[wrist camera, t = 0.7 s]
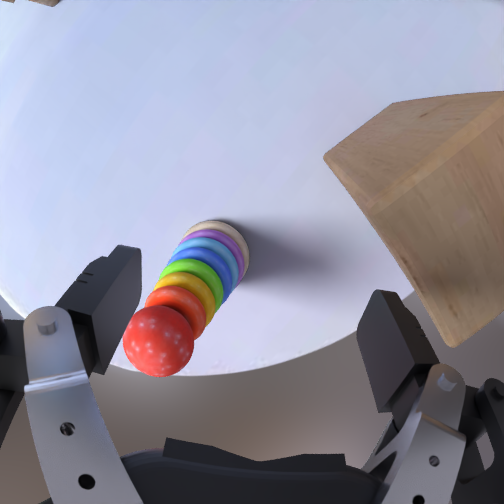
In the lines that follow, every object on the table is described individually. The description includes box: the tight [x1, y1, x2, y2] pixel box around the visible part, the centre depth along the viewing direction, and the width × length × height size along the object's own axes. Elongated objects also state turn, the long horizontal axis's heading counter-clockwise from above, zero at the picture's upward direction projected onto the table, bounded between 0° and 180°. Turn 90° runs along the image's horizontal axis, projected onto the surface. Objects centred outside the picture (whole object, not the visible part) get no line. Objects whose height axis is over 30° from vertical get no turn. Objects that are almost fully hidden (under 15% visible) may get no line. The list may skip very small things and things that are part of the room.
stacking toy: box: [123, 221, 249, 377], centre depth 27 cm, size 8×8×19 cm
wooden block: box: [323, 91, 504, 348], centre depth 20 cm, size 10×10×20 cm
